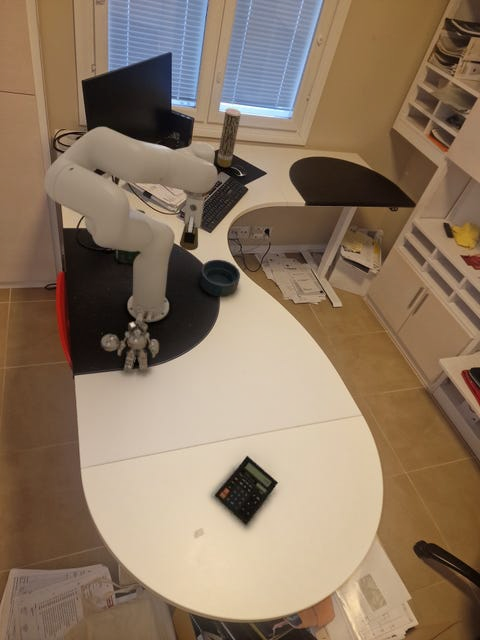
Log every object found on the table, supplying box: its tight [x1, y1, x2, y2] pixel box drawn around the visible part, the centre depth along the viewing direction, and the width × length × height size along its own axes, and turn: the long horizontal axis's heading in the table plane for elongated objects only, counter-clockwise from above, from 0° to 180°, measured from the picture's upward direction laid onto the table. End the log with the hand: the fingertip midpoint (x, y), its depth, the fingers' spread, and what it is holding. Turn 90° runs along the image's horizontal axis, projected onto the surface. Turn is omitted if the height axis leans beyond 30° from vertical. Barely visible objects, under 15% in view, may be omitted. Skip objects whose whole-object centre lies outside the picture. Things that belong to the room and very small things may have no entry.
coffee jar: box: [115, 208, 146, 265], centre depth 135 cm, size 10×8×19 cm
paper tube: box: [216, 107, 242, 169], centre depth 191 cm, size 7×7×25 cm
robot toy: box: [100, 321, 160, 373], centre depth 107 cm, size 15×6×15 cm, turn 96°
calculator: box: [214, 455, 279, 526], centre depth 95 cm, size 9×12×3 cm
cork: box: [179, 216, 199, 251], centre depth 131 cm, size 6×6×11 cm
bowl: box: [199, 259, 241, 297], centre depth 139 cm, size 13×13×6 cm
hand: (189, 237), depth 133 cm, fingers closed on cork, 4 cm apart
